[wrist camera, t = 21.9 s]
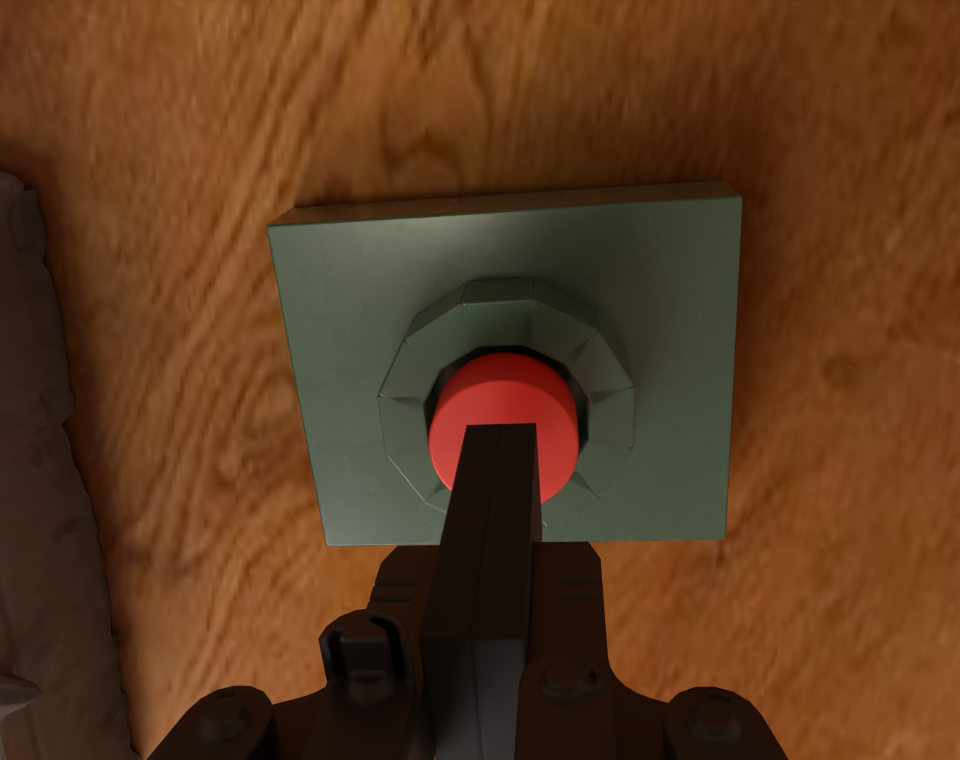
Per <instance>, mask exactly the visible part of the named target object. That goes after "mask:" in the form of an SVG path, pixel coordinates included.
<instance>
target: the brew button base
mask: <svg viewBox="0 0 960 760" xmlns="http://www.w3.org/2000/svg"><path fill="white" fill-rule="evenodd" d="M742 203H743V198H742V196H741V195H740V194H739V193H738V192H737V191H736V190H735V189H734V188H733V187H732V186H731V185H730V184H729V183H727V182H726V181H725V180H715V181H700V182H684V183H669V184H653V185H638V186H622V187H607V188H591V189H576V190H560V191H545V192H530V193H514V194H499V195H483V196H468V197H452V198H437V199H421V200H406V201H390V202H375V203H359V204H344V205H328V206H313V207H297V208H291V209H289V210H288V211H287V212H285V213H284V214H282V215H281V216H280V217H278V218H277V219H275V220H274V221H273V222H271V223H270V224H268V225H267V233H268V238H269V243H270V249H271V254H272V259H273V265H274V270H275V275H276V281H277V286H278V291H279V297H280V302H281V307H282V313H283V318H284V323H285V329H286V334H287V339H288V345H289V350H290V355H291V361H292V366H293V371H294V377H295V382H296V387H297V393H298V398H299V403H300V409H301V414H302V419H303V425H304V430H305V435H306V441H307V446H308V452H309V457H310V462H311V468H312V473H313V478H314V484H315V489H316V494H317V500H318V505H319V510H320V516H321V521H322V526H323V532H324V537H325V542H326V546H372V545H429V544H440V540H441V536H442V531H443V527H444V523H445V518H446V514H447V509H448V505H449V501H450V496H451V492H452V491H451V490H450V489H448V487H447V486H446V485H445V484H444V483H443V482H442V480H441V479H440V477H439V476H438V475H437V473H436V471H435V469H434V467H433V464H432V461H431V458H430V453H429V444H428V440H429V431H430V427H431V424H432V420H433V417H434V414H435V411H436V407H437V404H438V401H439V397H440V394H441V392H442V390H443V387H444V386H445V384H446V382H447V381H448V379H449V378H450V377H451V376H452V375H453V373H455V372H456V371H457V370H458V369H459V368H460V367H461V366H463V365H464V364H466V363H467V362H469V361H471V360H473V359H475V358H478V357H481V356H483V355H487V354H492V353H501V352H509V353H518V354H523V355H527V356H530V357H533V358H535V359H538V360H540V361H542V362H543V363H545V364H547V365H548V366H550V367H551V368H552V369H554V370H555V371H556V372H557V373H558V374H559V375H560V376H561V377H562V378H563V380H564V381H565V382H566V384H567V385H568V387H569V389H570V390H571V393H572V395H573V397H574V400H575V404H576V410H577V424H578V441H579V451H578V458H577V463H576V466H575V469H574V471H573V473H572V475H571V477H570V479H569V480H568V481H567V483H566V484H565V486H564V487H563V488H562V489H561V490H560V491H559V492H558V493H556V494H555V495H554V496H553V497H551V498H550V499H548V500H547V501H545V502H543V503H541V513H542V542H574V541H588V542H602V541H660V540H717V539H725V537H726V523H727V503H728V483H729V463H730V443H731V423H732V403H733V383H734V363H735V343H736V323H737V303H738V283H739V263H740V243H741V223H742Z"/></svg>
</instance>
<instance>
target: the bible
mask: <svg viewBox="0 0 960 760" xmlns="http://www.w3.org/2000/svg"><path fill="white" fill-rule="evenodd" d="M45 246H46V235H45V224H44V221H43V219H42V216H41V214H40V211H39V208H38V206H37V198H36V189H33V190H28V191H24V183H23V182H21V181H20V180H19V179H18V178H17V177H16V176H15V175H12V174H8V173H4V172H0V760H139V757H138V754H136V753H134V752H133V751H132V749H131V747H130V738H131V731H130V729H129V728H128V726H127V724H126V722H127V717H128V703H127V697H126V693H124V694H121V680H122V678H123V677H122V675H121V673H120V671H119V669H118V654H117V649H118V634H115V635H113V636H111V623H110V619H111V614H112V608H111V604H110V596H109V592H108V589H107V586H106V583H105V574H104V561H105V559H104V556H103V554H102V551H101V549H100V546H99V543H98V541H97V537H98V534H99V531H100V528H99V526H98V525H97V524H96V522H95V519H94V517H93V515H92V507H91V500H90V497H89V496H88V494H87V493H86V491H85V488H84V485H83V482H82V479H81V475H80V474H79V472H78V470H77V468H76V466H75V465H74V463H73V459H72V452H71V446H70V442H69V438H68V435H67V433H66V431H65V430H64V428H63V426H62V425H61V424H62V423H63V422H64V421H65V420H66V419H67V418H68V417H69V416H70V415H71V414H72V413H73V412H74V410H75V404H74V396H73V394H72V392H71V390H70V389H69V380H68V361H67V356H66V350H65V345H64V340H63V333H62V325H61V317H60V309H59V306H58V302H57V298H56V295H55V291H54V288H53V284H52V280H51V276H50V273H49V271H48V270H47V269H46V267H45V266H44V264H43V263H42V262H43V257H44V251H45Z"/></svg>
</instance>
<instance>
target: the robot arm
mask: <svg viewBox="0 0 960 760" xmlns="http://www.w3.org/2000/svg"><path fill="white" fill-rule="evenodd" d="M318 640H319V645H320V649H321V654H322V659H323V664H324V669H325V674H326V678H327V684H326V687H324V688H323V689H321V690H319V691H317V692H315V693H313V694H310V695H307V696H304V697H301V698H297V699H293V700H289V701H285V702H281V703H277V704H273V705H272V704H271V701H270V700H269V698H268V697H267V696H266V694H265V693H264V692H263V691H261V690H259V689H256V688H254V687H252V686H231V687H227V688H223V689H219V690H216V691H214V692H212V693H211V694H209V695H207V696H205V697H203V698H201V699H200V700H199V701H198V702H196V703H195V704H194V705H193V706H192V707H191V708H190V709H189V710H188V711H187V712H186V713H185V714H184V715H183V716H182V718H181V719H180V720H179V721H178V722H177V724H176V725H175V726H174V727H173V728H172V730H171V731H170V732H169V733H168V734H167V736H166V737H165V738H164V739H163V740H162V742H161V743H160V744H159V745H158V746H157V748H156V749H155V750H154V751H153V752H152V754H151V755H150V756H149V757H148V758H147V760H434V756H435V760H788V758H787V756H786V755H785V753H784V751H783V750H782V748H781V746H780V745H779V743H778V741H777V740H776V738H775V736H774V735H773V733H772V731H771V730H770V728H769V726H768V725H767V723H766V721H765V720H764V718H763V716H762V715H761V714H760V713H759V712H758V710H757V709H756V708H755V707H754V706H753V705H752V704H751V703H750V701H748V700H746V699H745V698H743V697H741V696H739V695H738V694H736V693H734V692H732V691H729V690H725V689H721V688H717V687H694V688H691V689H688V690H685V691H683V692H680V693H678V694H677V695H676V696H675V697H674V698H673V699H672V700H671V701H670V702H669V703H666V702H662V701H659V700H655V699H651V698H649V697H646V696H643V695H640V694H638V693H636V692H634V691H633V690H631V689H629V688H628V687H626V686H625V685H624V684H623V683H622V682H621V681H620V680H619V679H618V678H616V676H615V674H614V673H613V671H612V669H611V668H610V664H609V660H608V652H607V639H606V626H605V612H604V599H603V586H602V572H601V559H600V557H599V556H598V555H597V553H596V552H595V551H594V549H593V548H592V547H591V545H590V544H589V542H588V541H574V542H542V513H541V496H540V479H539V462H538V445H537V428H536V423H511V424H479V425H467V426H466V430H465V435H464V439H463V443H462V448H461V452H460V457H459V461H458V465H457V470H456V474H455V479H454V483H453V487H452V492H451V496H450V501H449V505H448V509H447V514H446V518H445V523H444V527H443V531H442V536H441V540H440V545H414V546H397V547H396V548H395V549H394V550H393V551H392V552H391V553H390V554H389V555H388V556H387V557H386V559H385V560H384V561H383V562H382V563H381V565H380V568H379V571H378V575H377V578H376V581H375V586H374V587H373V590H372V593H371V596H370V602H368V605H367V608H366V609H362V610H355V611H353V612H350V613H348V614H345V615H343V616H340V617H338V618H337V619H336V620H334V621H333V622H332V623H331V624H329V625H328V626H327V627H326V628H325V629H324V631H323V632H322V634H321V635H320V637H319V639H318Z"/></svg>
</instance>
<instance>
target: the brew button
mask: <svg viewBox="0 0 960 760" xmlns="http://www.w3.org/2000/svg"><path fill="white" fill-rule="evenodd" d="M511 423H536V428H537V445H538V462H539V479H540V496H541V503H543V502H545V501H547V500H548V499H550V498H551V497H553V496H554V495H555V494H556V493H558V492H559V491H560V490H561V489H562V488H563V487H564V486H565V484H566V483H567V481H568V480H569V479H570V477H571V475H572V473H573V471H574V469H575V466H576V463H577V458H578V451H579V441H578V424H577V410H576V404H575V400H574V397H573V395H572V393H571V390H570V389H569V387H568V385H567V384H566V382H565V381H564V380H563V378H562V377H561V376H560V375H559V374H558V373H557V372H556V371H555V370H554V369H552V368H551V367H550V366H548V365H547V364H545V363H543V362H542V361H540V360H538V359H535V358H533V357H530V356H527V355H523V354H518V353H509V352H501V353H492V354H487V355H483V356H481V357H478V358H475V359H473V360H471V361H469V362H467V363H466V364H464V365H463V366H461V367H460V368H459V369H458V370H457V371H456V372H455V373H453V375H452V376H451V377H450V378H449V379H448V381H447V382H446V384H445V386H444V387H443V390H442V392H441V394H440V397H439V401H438V404H437V407H436V411H435V414H434V417H433V420H432V424H431V427H430V431H429V440H428V444H429V453H430V458H431V461H432V464H433V467H434V469H435V471H436V473H437V475H438V476H439V477H440V479H441V480H442V482H443V483H444V484H445V485H446V486H447V487H448V489H450V490H451V491H452V487H453V483H454V479H455V474H456V470H457V465H458V461H459V457H460V452H461V448H462V443H463V439H464V435H465V430H466V426H467V425H479V424H511Z"/></svg>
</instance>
